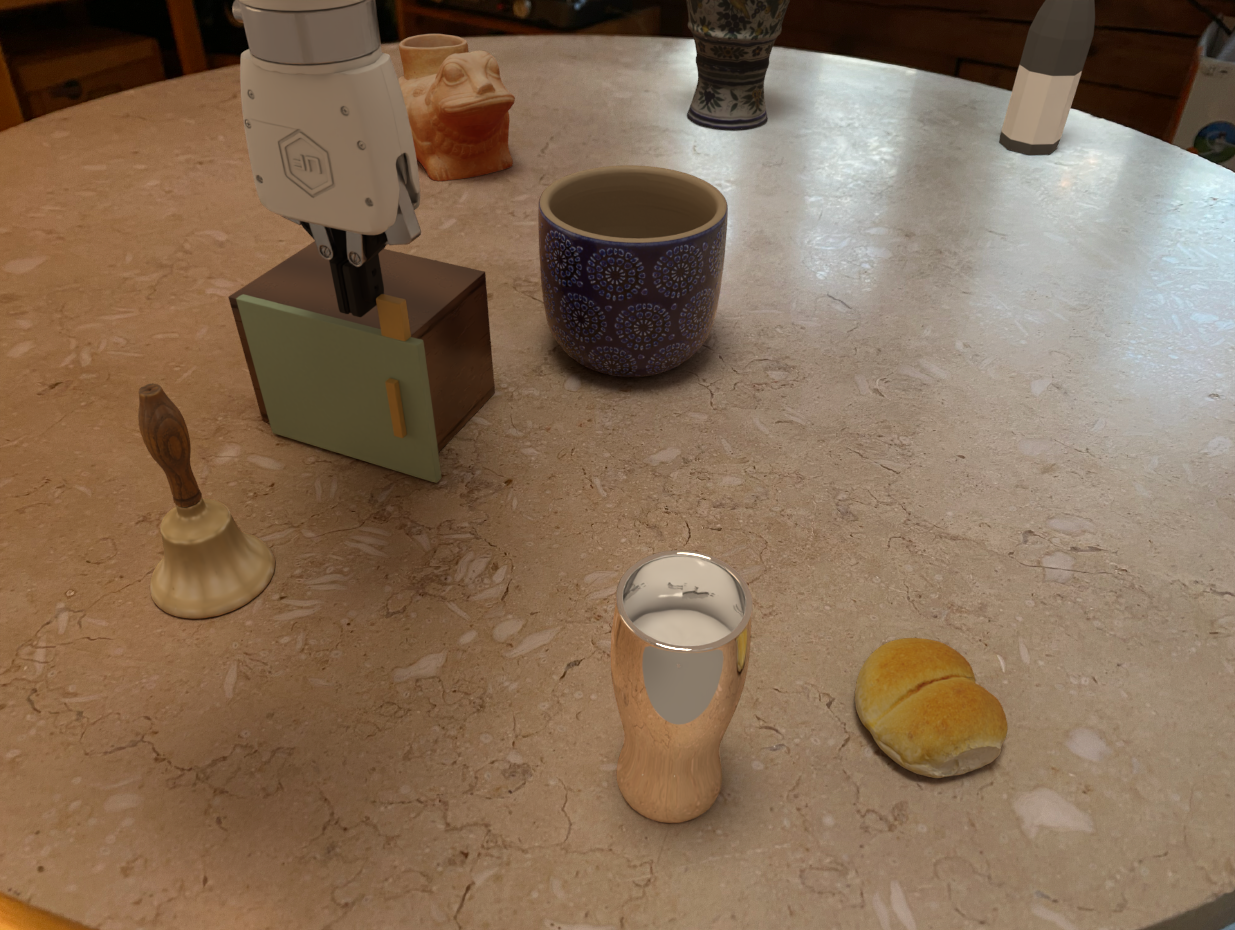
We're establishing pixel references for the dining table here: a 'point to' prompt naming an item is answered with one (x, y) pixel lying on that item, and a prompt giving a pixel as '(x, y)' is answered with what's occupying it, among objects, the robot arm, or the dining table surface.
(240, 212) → the dining table surface
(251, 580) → the hand bell
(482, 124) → the ceramic vessel
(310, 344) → the sliding door
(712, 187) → the planter
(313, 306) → the cupboard
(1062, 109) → the wine bottle
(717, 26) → the vase
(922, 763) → the bread roll
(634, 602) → the beer glass
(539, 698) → the dining table surface
